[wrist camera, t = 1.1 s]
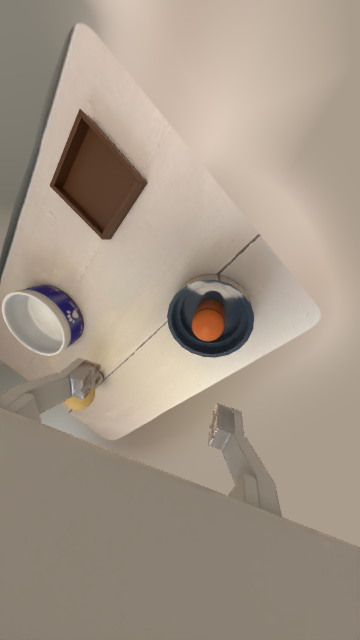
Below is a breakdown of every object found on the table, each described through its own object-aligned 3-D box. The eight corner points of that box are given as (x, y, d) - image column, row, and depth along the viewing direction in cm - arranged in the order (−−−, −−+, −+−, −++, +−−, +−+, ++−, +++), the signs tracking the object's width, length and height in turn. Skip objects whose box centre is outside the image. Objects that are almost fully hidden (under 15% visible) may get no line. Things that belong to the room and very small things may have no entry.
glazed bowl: (252, 271, 29) (257, 277, 25) (247, 344, 35) (250, 359, 30) (171, 275, 33) (162, 281, 28) (178, 341, 38) (172, 355, 34)
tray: (91, 119, 26) (79, 108, 23) (147, 182, 27) (141, 178, 25) (61, 189, 31) (49, 185, 28) (110, 239, 32) (102, 239, 30)
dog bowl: (96, 332, 42) (77, 345, 37) (57, 349, 48) (36, 363, 43) (55, 273, 38) (27, 278, 33) (17, 299, 44) (-11, 308, 38)
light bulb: (86, 378, 50) (57, 408, 42) (89, 362, 47) (58, 391, 39) (106, 387, 50) (81, 420, 41) (110, 372, 47) (84, 403, 38)
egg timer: (224, 298, 31) (225, 316, 24) (224, 325, 34) (224, 348, 26) (195, 299, 33) (187, 316, 26) (196, 324, 35) (189, 347, 28)
